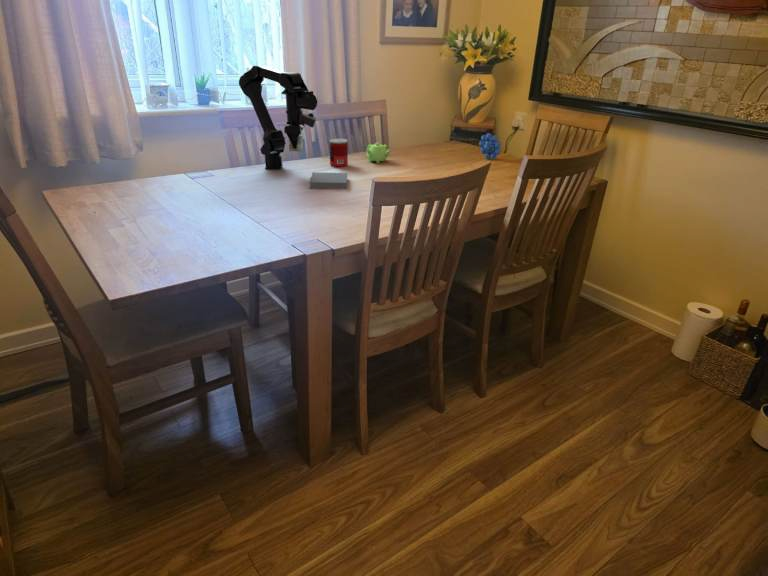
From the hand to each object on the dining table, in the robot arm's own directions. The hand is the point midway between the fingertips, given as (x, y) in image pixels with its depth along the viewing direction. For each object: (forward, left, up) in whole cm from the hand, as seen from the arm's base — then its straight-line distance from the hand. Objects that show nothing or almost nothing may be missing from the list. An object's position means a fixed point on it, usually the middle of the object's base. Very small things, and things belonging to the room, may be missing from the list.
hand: (295, 147), depth 208 cm
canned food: (+17, +15, -11) cm, 25 cm away
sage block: (0, 0, -1) cm, 1 cm away
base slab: (+14, -14, -11) cm, 23 cm away
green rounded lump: (+35, +23, -11) cm, 43 cm away
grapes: (+88, +31, -11) cm, 94 cm away
